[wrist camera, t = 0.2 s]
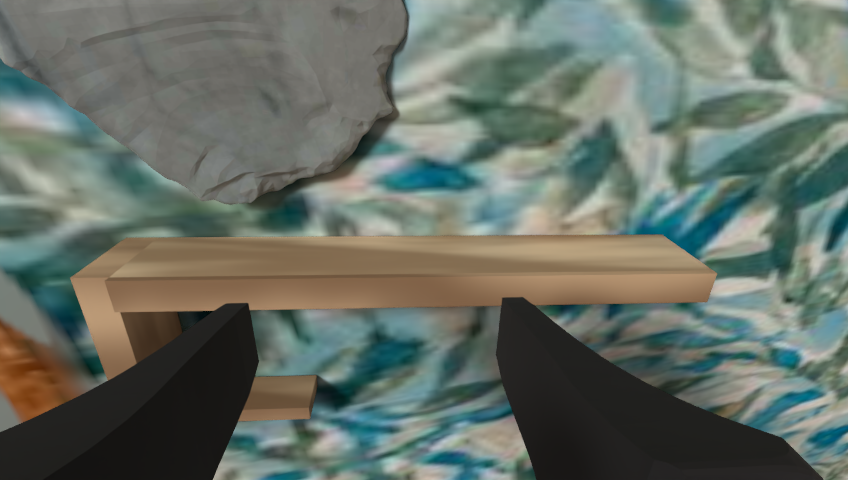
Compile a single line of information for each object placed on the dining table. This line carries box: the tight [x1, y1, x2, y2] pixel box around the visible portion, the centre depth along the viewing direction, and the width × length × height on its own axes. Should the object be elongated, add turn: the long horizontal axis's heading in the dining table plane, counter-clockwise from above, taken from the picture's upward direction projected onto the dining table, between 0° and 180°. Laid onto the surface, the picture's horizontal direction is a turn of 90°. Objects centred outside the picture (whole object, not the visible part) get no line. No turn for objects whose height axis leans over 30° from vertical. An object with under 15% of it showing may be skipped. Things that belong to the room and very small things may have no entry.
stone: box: [0, 0, 407, 205], centre depth 16 cm, size 16×4×15 cm
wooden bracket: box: [70, 235, 717, 421], centre depth 22 cm, size 10×28×4 cm, turn 89°
